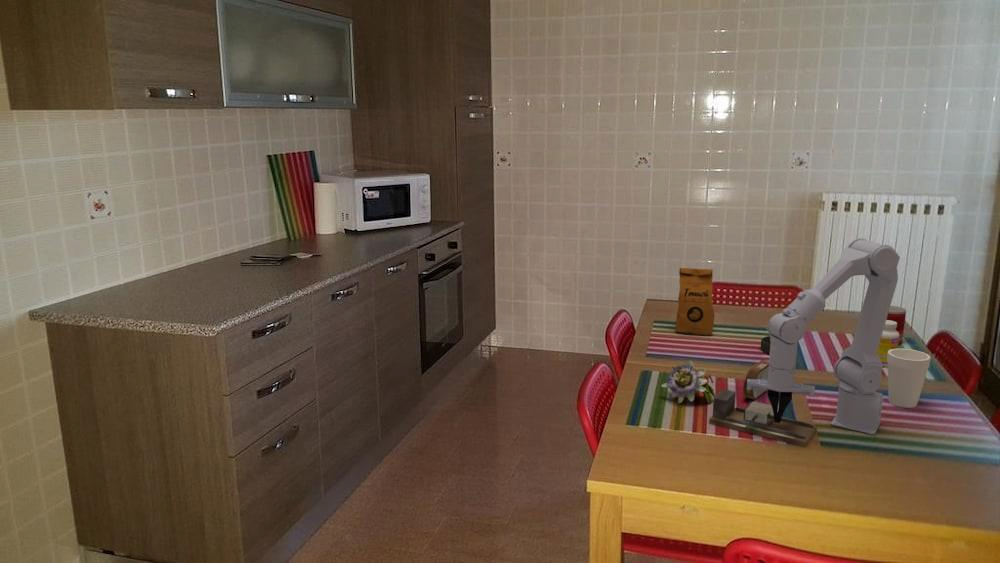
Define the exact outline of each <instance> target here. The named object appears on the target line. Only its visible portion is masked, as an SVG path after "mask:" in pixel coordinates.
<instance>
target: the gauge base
mask: <svg viewBox="0 0 1000 563" xmlns="http://www.w3.org/2000/svg"><path fill="white" fill-rule="evenodd" d="M736 394H737V393H736V390H735V391H734V390H730V389H724V388H723V389H722V390H721V391H719V393H718V394H717V395H715V397H714V396H713V401H712V402H713V404H712V416H710V418H709V421H708V422H709V424H711V425H714V426H719V427H723V428H728V429H730V428H731V430H735V431H739V432H742V433H743V432H744V433H748V434H751V435H755V436H759V437H763V438H768V439H771V440H772V439H773V440H775V441H779V442H780V441H781V442H785V443H787V444H792V445H796V446H801V447H807V446H808V444H809V442H810V441H811V440H812V438H813V437H814V435H815V434H816V432H817V429H818V428H817V427H818V426H817V425H815V424H814V423H810V422H805V421H802V420H801V421H800V420H796V419H793V418H788V417H784V416H782V418H781V422H780V423H776V422H774V419H773V420H772V421H771V422H770V424H769V425H768V426H764V425H760V424H756V423H752V422H747V421H745V419H744V409H745V407H739V406H736V397H737V396H736Z"/></svg>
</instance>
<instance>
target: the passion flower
mask: <svg viewBox="0 0 1000 563" xmlns="http://www.w3.org/2000/svg"><path fill="white" fill-rule="evenodd" d="M671 367H672V370H671V371H670V372H669V375H670V377H668V378H667V380H666V381H665V382H663V383H661V385H660V387H662V388H663V389H666V388H669V389H670V390H671V393H670V394H671V395H670V398H671V399H677V404H682V403H683V402H684V400H685V398H687V399H688V401H689V402H691V403H693V402H694V401H695V398H696V393H697V392H699V393H702V394H703V396H704V397H705V400H706V402H707V403H708V404H712V402H713V398H714V397H716V394H715V392H714V388H712V386H710V384H708V380H707V379H706V377H708V378H709V379H710V382H711V384H713V383H714V380H713V379H714V378H713V377H712V375H711V374H707V370H706V369H705V368H704V369H698V370H697V369H695V368H694V362H693V361H692V360H689V361H688V362H687V363H685V364H682V365H679V364H676V365H675V366H674V365H672V366H671ZM705 374H707V375H705ZM712 396H713V397H712Z"/></svg>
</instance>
